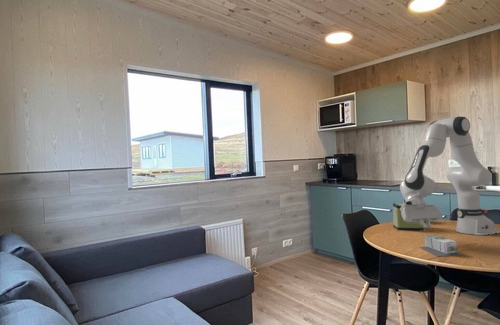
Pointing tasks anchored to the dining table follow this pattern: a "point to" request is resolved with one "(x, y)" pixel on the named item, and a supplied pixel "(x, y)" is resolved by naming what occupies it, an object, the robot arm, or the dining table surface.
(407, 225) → the protein box
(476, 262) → the dining table surface
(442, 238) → the syrup box
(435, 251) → the mat
